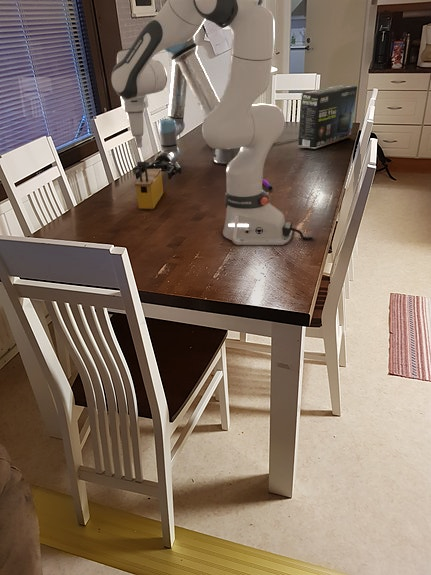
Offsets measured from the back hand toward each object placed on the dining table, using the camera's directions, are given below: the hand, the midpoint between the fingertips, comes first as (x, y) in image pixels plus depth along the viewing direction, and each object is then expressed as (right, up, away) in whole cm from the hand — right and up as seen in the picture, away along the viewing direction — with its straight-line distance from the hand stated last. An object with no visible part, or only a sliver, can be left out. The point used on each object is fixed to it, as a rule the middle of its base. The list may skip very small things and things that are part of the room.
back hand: (152, 176), depth 186 cm
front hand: (-1, +5, -25) cm, 25 cm away
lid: (0, -4, -12) cm, 13 cm away
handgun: (+43, -1, +6) cm, 44 cm away
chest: (+1, -11, -7) cm, 13 cm away
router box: (+84, +32, +59) cm, 107 cm away
